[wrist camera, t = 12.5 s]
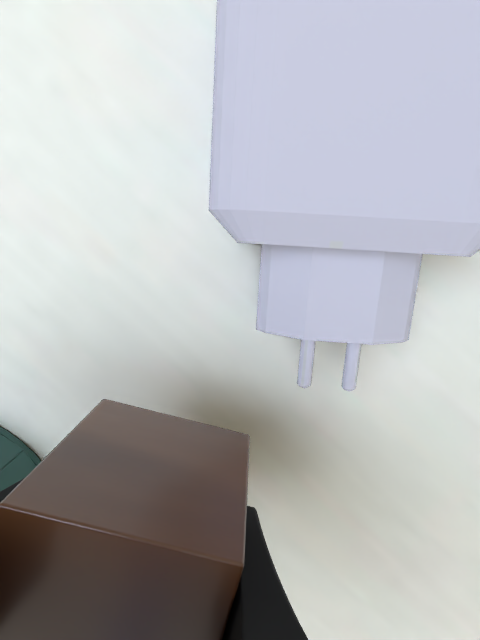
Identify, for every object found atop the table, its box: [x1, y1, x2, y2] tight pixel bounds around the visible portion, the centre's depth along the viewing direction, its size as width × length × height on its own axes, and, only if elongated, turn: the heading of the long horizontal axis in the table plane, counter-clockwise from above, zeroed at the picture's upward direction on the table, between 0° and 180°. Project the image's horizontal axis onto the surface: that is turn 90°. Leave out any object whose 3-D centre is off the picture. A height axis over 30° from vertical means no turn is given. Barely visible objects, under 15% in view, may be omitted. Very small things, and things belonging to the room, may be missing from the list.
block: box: [0, 399, 250, 640], centre depth 10 cm, size 5×5×5 cm
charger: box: [209, 0, 480, 391], centre depth 13 cm, size 5×9×15 cm
